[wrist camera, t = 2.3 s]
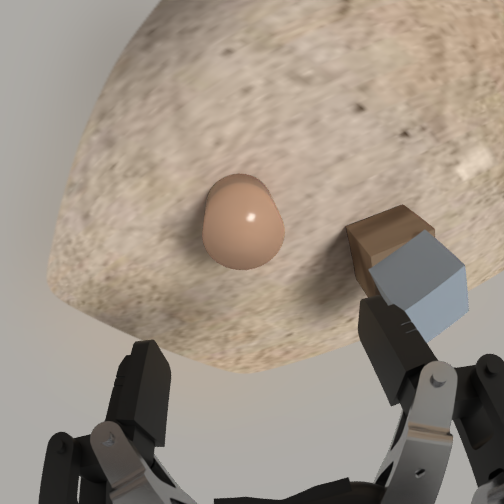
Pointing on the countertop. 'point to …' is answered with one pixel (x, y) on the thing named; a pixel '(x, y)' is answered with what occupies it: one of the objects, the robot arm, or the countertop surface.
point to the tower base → (381, 240)
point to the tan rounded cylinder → (242, 223)
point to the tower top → (424, 284)
